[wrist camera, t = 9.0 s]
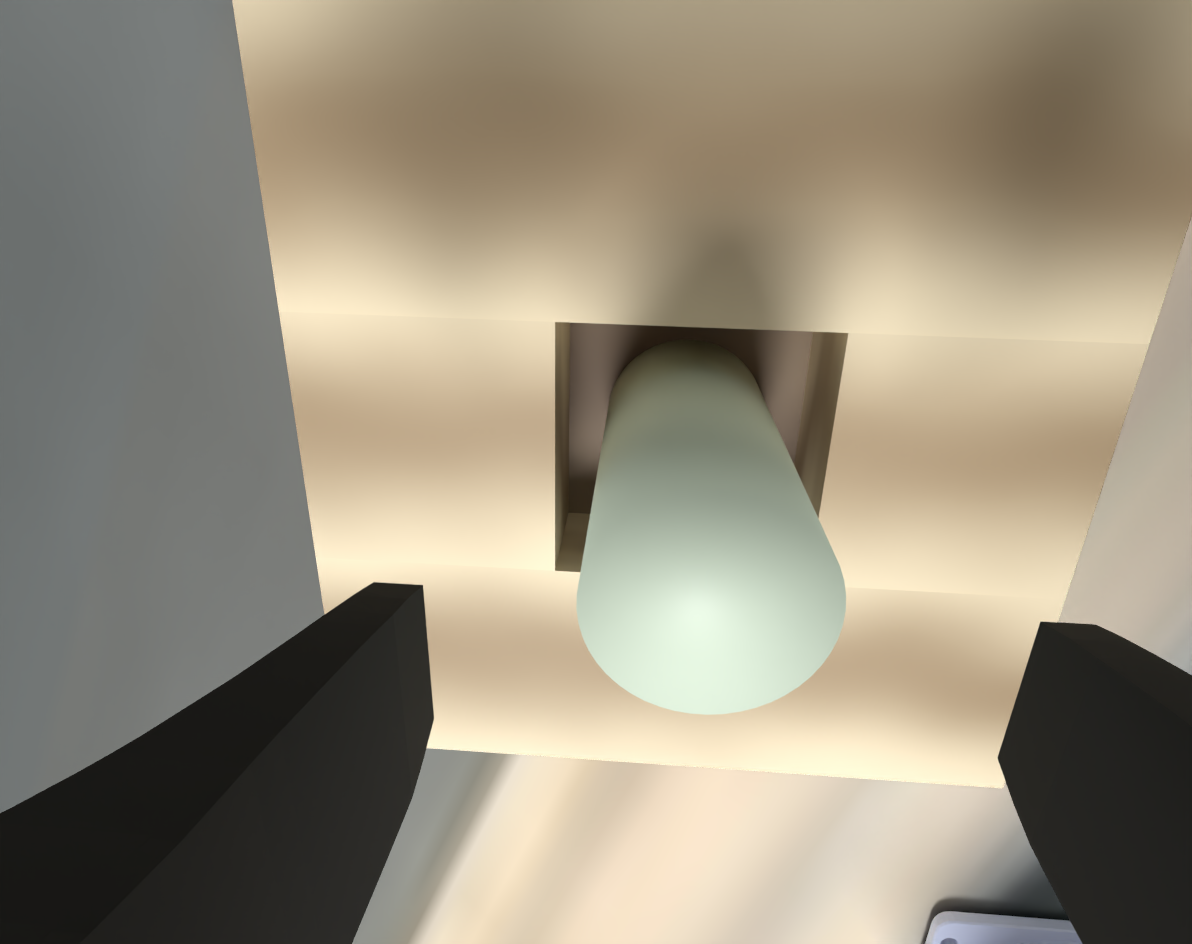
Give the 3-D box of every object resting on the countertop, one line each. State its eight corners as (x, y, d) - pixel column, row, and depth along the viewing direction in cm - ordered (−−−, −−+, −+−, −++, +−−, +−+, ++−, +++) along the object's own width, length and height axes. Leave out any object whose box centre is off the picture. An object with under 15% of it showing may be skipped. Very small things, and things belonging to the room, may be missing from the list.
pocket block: (955, 701, 20) (1003, 788, 17) (383, 665, 21) (343, 742, 18) (1141, 27, 14) (1264, -4, 11) (309, 15, 15) (229, -18, 12)
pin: (758, 484, 18) (833, 716, 10) (610, 485, 18) (583, 712, 11) (766, 337, 16) (859, 487, 9) (605, 341, 17) (569, 490, 9)
